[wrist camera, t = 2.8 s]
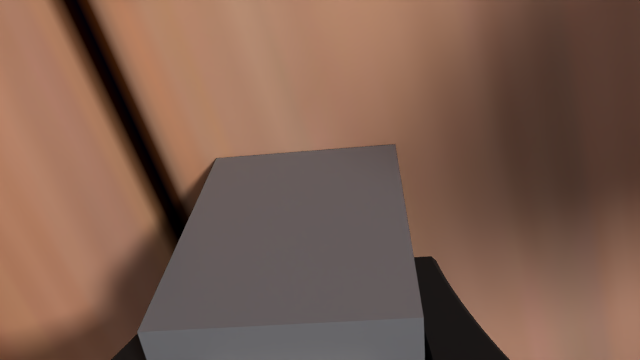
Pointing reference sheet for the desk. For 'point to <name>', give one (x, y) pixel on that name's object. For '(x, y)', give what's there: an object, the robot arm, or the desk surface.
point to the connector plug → (292, 264)
